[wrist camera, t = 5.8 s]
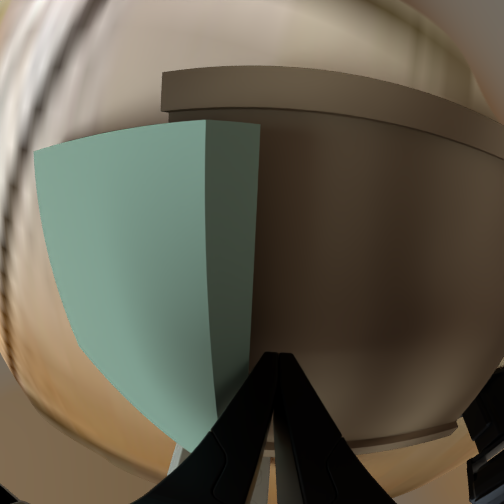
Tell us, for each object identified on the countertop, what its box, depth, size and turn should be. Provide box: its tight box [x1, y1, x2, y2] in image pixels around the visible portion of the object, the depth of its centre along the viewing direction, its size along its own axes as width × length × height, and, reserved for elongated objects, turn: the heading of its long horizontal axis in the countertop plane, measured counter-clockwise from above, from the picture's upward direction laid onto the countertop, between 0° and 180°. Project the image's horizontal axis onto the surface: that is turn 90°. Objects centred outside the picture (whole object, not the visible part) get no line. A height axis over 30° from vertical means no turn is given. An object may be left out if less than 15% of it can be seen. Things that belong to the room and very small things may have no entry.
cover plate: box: [34, 120, 261, 453], centre depth 10 cm, size 13×13×2 cm
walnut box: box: [161, 66, 504, 457], centre depth 10 cm, size 15×16×6 cm
